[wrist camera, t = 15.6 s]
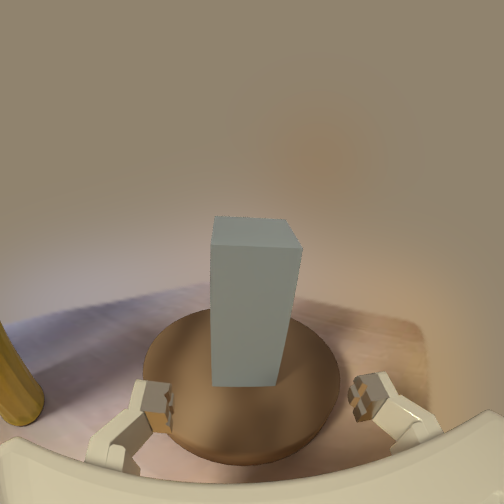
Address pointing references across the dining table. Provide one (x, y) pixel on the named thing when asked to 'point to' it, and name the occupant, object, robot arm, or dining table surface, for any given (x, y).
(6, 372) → the vase
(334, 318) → the dining table surface
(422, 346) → the dining table surface
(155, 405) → the robot arm
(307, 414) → the walnut base
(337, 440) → the dining table surface
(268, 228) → the gray block
